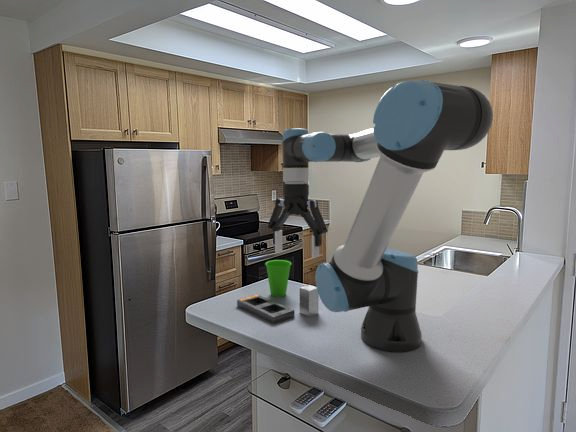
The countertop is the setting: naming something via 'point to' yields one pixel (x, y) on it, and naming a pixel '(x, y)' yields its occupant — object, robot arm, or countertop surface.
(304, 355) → the countertop surface
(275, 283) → the cup
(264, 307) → the dark grey flat frame
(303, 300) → the gray squarish block
